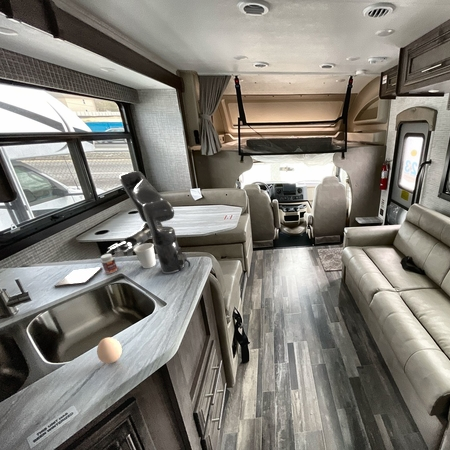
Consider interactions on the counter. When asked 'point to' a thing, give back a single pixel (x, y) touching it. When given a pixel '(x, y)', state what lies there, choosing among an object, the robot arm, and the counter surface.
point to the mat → (78, 277)
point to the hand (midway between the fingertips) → (115, 254)
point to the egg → (109, 350)
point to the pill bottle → (108, 263)
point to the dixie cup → (146, 255)
